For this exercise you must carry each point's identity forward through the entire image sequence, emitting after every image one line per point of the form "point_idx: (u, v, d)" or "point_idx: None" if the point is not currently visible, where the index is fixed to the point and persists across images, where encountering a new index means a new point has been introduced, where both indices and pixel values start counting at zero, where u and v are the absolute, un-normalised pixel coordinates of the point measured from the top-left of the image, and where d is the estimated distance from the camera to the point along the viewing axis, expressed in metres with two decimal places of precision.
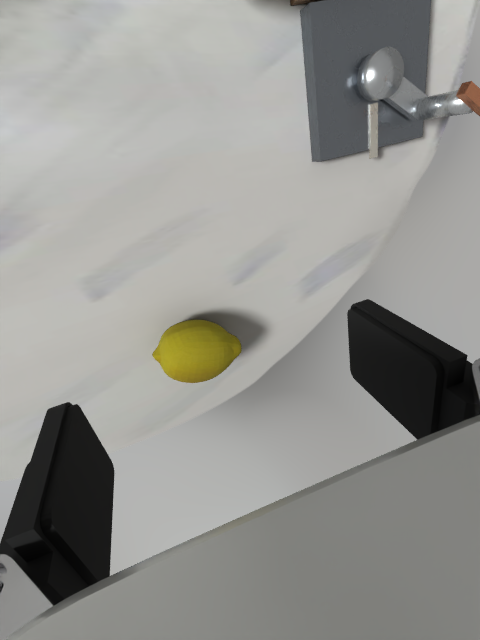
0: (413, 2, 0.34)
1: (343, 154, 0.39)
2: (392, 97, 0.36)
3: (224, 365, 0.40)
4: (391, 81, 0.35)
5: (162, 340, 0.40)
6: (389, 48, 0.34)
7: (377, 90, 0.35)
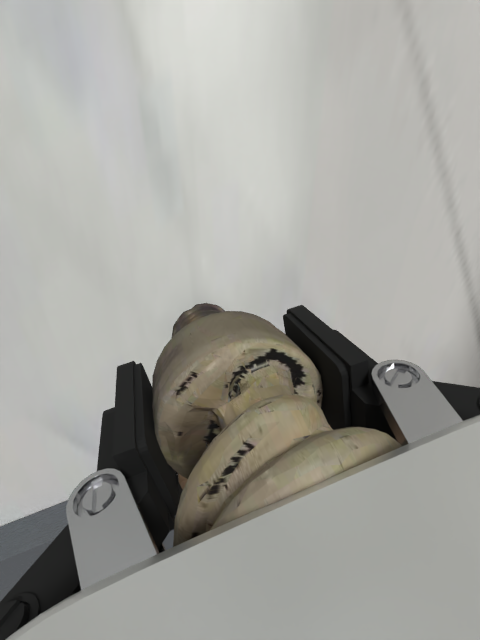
0: None
1: None
2: None
3: None
4: None
5: None
6: None
7: None
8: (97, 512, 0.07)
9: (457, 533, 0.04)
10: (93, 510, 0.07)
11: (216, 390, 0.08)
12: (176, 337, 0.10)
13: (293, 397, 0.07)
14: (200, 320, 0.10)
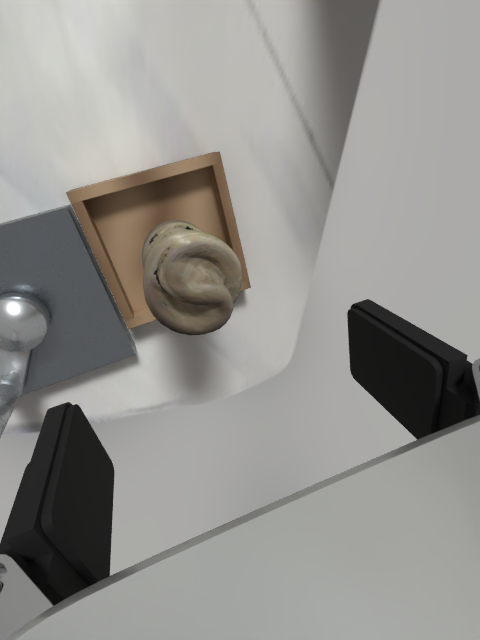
0: (113, 339, 0.31)
1: None
2: None
3: None
4: (8, 338, 0.26)
5: None
6: (42, 322, 0.26)
7: None
8: None
9: (457, 533, 0.04)
10: None
11: None
12: (152, 229, 0.24)
13: (183, 228, 0.20)
14: None
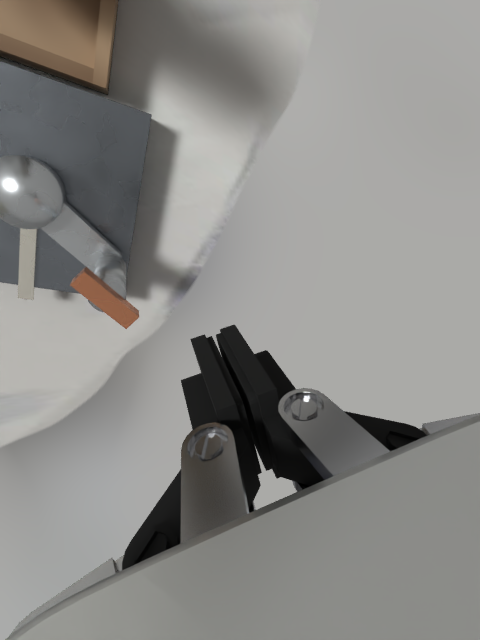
0: (115, 122, 0.23)
1: None
2: (50, 232, 0.23)
3: None
4: (35, 209, 0.22)
5: None
6: (31, 161, 0.20)
7: (3, 211, 0.21)
8: (205, 459, 0.07)
9: (457, 533, 0.04)
10: (202, 456, 0.07)
11: None
12: None
13: None
14: None
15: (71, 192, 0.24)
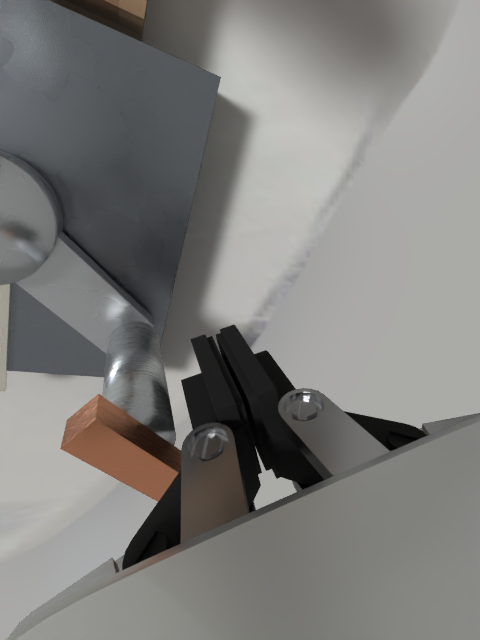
0: (156, 88, 0.12)
1: None
2: (31, 287, 0.13)
3: None
4: (2, 250, 0.11)
5: None
6: None
7: None
8: (206, 459, 0.07)
9: (457, 533, 0.04)
10: (203, 456, 0.07)
11: None
12: None
13: None
14: None
15: (73, 214, 0.13)
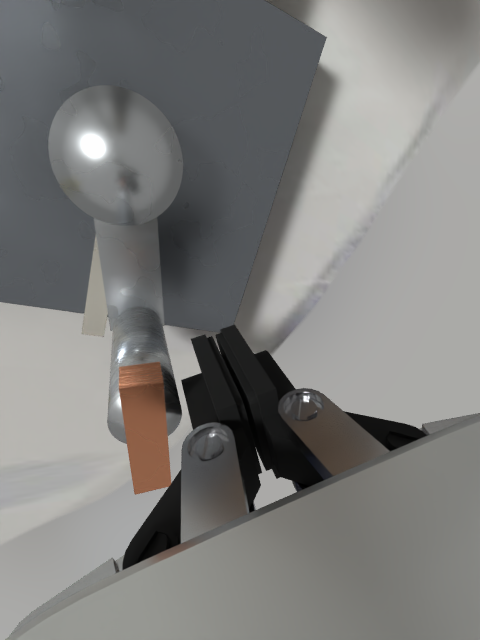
0: (270, 45, 0.13)
1: None
2: (102, 231, 0.13)
3: None
4: (116, 193, 0.12)
5: None
6: (173, 136, 0.12)
7: (67, 157, 0.11)
8: (206, 459, 0.07)
9: (457, 533, 0.04)
10: (203, 456, 0.07)
11: None
12: None
13: None
14: None
15: (183, 165, 0.14)
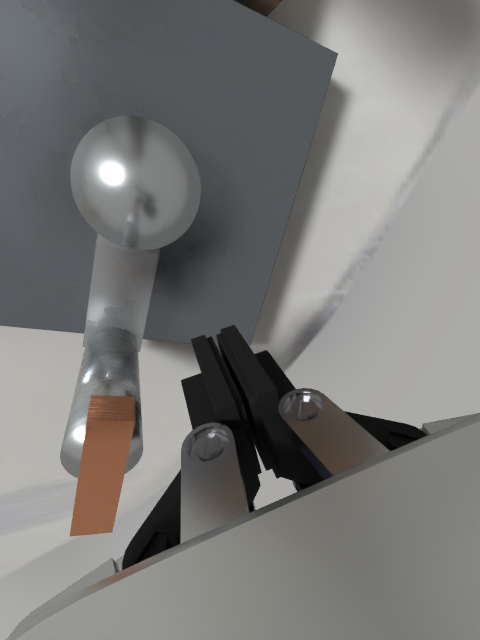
0: (282, 65, 0.13)
1: (20, 324, 0.14)
2: (102, 247, 0.13)
3: None
4: (127, 216, 0.12)
5: None
6: (196, 178, 0.12)
7: (88, 172, 0.11)
8: (205, 460, 0.07)
9: (457, 533, 0.04)
10: (202, 456, 0.07)
11: None
12: None
13: None
14: None
15: None
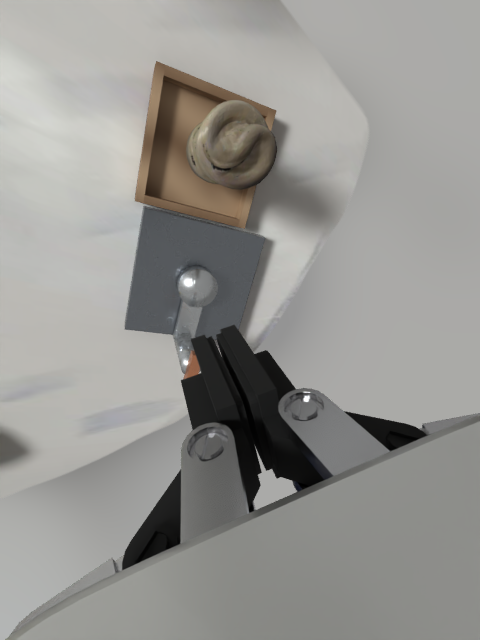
0: (245, 243, 0.39)
1: (151, 331, 0.40)
2: (184, 306, 0.38)
3: None
4: (194, 297, 0.38)
5: None
6: (216, 285, 0.38)
7: (184, 286, 0.37)
8: (205, 459, 0.07)
9: (456, 533, 0.04)
10: (202, 456, 0.07)
11: None
12: (187, 158, 0.30)
13: (197, 130, 0.25)
14: (186, 147, 0.30)
15: None
